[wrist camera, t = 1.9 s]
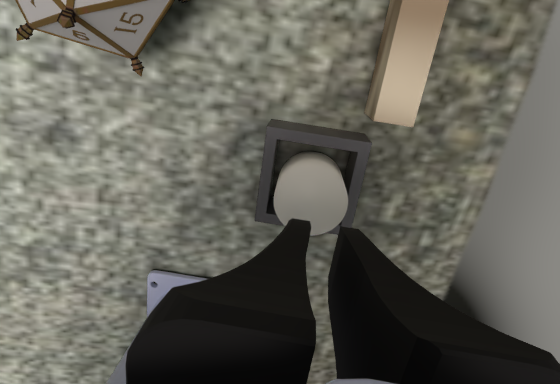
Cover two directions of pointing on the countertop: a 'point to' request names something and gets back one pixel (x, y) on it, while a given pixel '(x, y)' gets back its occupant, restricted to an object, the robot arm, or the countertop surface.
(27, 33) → the game die
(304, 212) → the button
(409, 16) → the rail
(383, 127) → the countertop surface
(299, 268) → the robot arm
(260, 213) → the button box
